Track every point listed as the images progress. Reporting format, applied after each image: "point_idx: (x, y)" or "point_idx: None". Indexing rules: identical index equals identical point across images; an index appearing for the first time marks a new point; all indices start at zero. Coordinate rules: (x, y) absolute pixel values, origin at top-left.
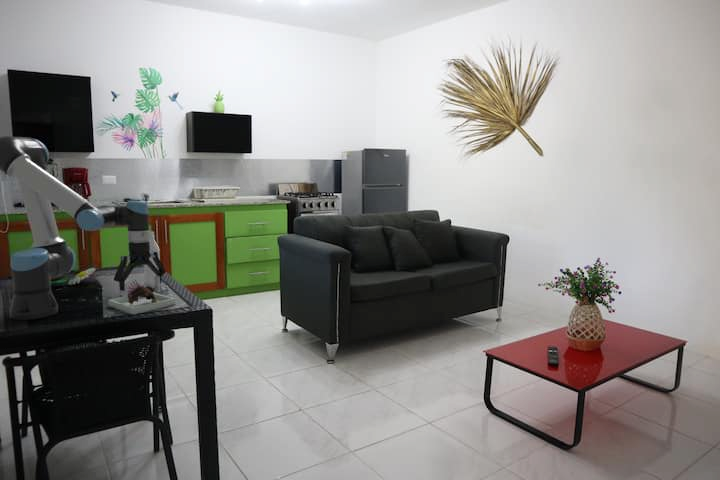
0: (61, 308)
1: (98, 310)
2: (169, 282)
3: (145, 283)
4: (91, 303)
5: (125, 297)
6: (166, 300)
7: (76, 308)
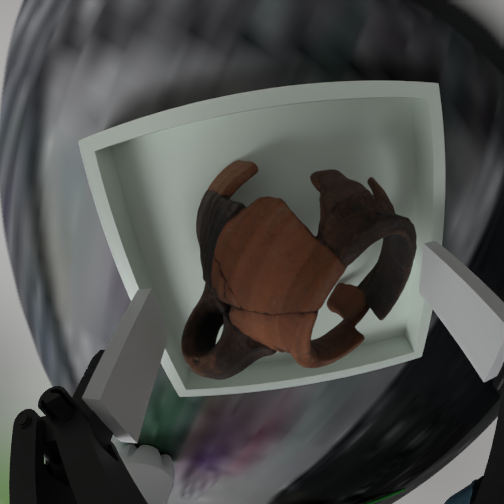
0: None
1: None
2: None
3: (171, 469)
4: (412, 394)
5: (443, 250)
6: (144, 120)
7: None
